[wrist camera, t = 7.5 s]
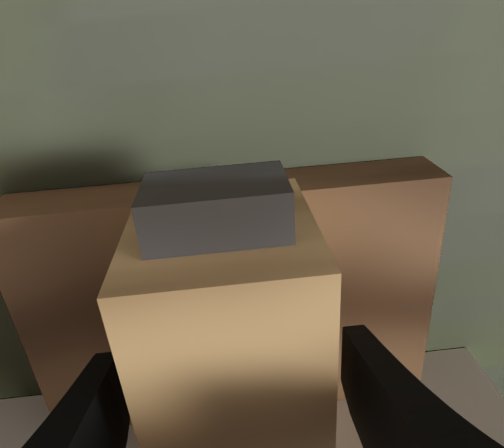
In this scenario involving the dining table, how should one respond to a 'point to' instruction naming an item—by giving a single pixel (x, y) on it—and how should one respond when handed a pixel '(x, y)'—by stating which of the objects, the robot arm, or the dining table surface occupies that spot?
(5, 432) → the shelf board
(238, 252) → the tan rectangular block
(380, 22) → the dining table surface
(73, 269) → the brown rectangular panel
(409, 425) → the robot arm
